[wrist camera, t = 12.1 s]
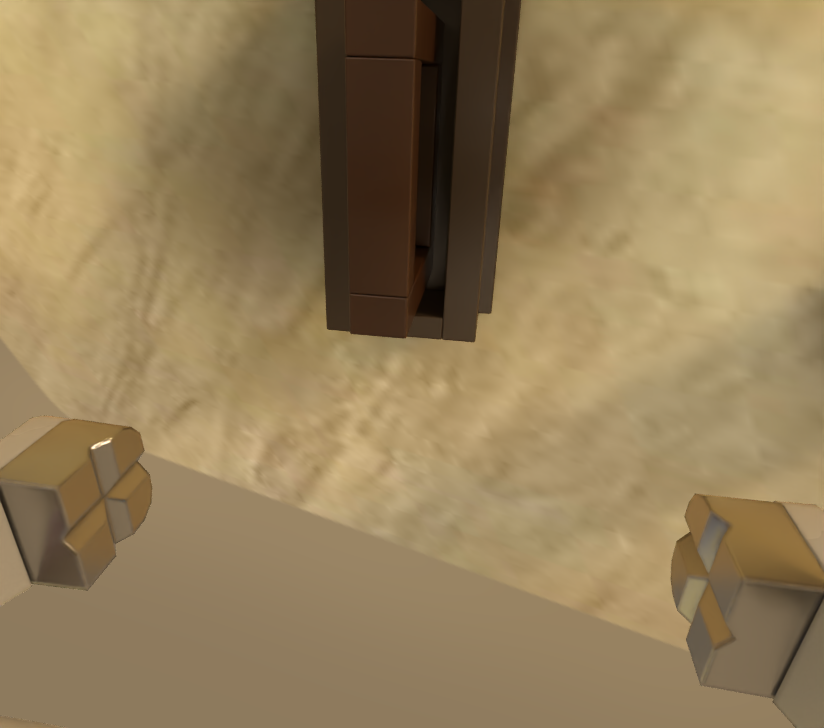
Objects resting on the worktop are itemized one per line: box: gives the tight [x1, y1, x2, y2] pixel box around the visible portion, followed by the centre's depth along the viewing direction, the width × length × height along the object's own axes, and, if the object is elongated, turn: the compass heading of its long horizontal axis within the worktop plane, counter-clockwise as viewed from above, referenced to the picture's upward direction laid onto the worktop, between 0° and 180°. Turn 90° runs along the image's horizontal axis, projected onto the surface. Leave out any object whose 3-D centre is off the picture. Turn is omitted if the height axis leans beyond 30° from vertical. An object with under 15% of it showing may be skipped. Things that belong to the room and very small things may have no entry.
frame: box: [344, 0, 445, 338], centre depth 21 cm, size 2×10×8 cm, turn 178°
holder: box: [315, 0, 521, 342], centre depth 24 cm, size 8×14×4 cm, turn 178°
